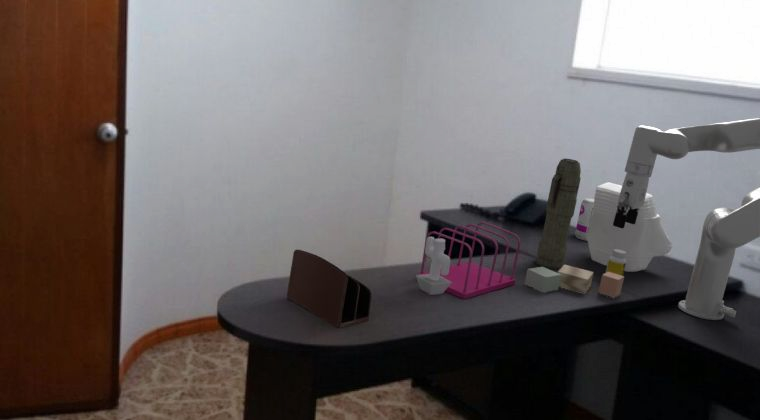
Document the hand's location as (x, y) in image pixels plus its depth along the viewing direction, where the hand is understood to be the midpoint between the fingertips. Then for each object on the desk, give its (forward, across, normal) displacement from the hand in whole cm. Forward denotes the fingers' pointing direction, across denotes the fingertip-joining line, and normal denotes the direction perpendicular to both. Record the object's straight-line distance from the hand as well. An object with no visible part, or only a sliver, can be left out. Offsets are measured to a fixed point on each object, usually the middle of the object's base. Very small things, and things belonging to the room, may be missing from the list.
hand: (623, 224), depth 222 cm
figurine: (+23, -49, +31) cm, 63 cm away
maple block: (+22, -6, +8) cm, 24 cm away
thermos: (+22, +8, +23) cm, 33 cm away
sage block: (+22, -16, +14) cm, 31 cm away
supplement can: (+22, +54, +29) cm, 65 cm away
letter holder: (+24, -84, +40) cm, 95 cm away
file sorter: (+23, -33, +30) cm, 50 cm away
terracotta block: (+21, -1, -1) cm, 21 cm away
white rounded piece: (+21, +32, +8) cm, 39 cm away
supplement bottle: (+22, +14, +3) cm, 26 cm away
